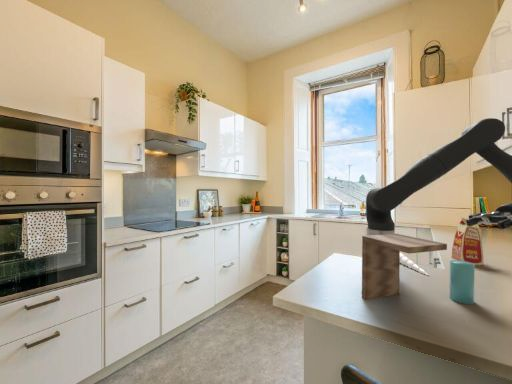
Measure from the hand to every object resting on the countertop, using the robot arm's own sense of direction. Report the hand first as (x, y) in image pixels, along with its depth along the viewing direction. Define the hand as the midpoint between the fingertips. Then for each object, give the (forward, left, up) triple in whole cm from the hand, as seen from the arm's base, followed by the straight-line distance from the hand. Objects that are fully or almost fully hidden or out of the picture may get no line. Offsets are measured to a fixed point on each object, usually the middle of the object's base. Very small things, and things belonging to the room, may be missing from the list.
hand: (483, 224), depth 77 cm
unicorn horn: (-15, +26, -22) cm, 37 cm away
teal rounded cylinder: (-7, -7, -22) cm, 24 cm away
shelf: (-25, -18, -22) cm, 37 cm away
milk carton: (+11, +43, -22) cm, 49 cm away
